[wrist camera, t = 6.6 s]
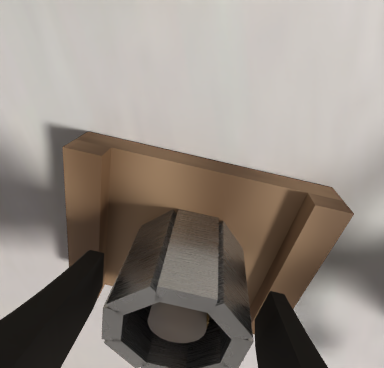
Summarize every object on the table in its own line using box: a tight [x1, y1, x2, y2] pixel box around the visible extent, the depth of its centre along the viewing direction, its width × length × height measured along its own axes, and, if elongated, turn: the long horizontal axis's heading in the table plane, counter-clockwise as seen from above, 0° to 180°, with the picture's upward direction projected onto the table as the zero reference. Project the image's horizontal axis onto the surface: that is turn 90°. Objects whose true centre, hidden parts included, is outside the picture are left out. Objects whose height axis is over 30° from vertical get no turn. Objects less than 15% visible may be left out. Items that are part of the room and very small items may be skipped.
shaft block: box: [63, 132, 354, 343], centre depth 12 cm, size 12×9×6 cm
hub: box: [102, 209, 253, 368], centre depth 11 cm, size 6×6×4 cm
